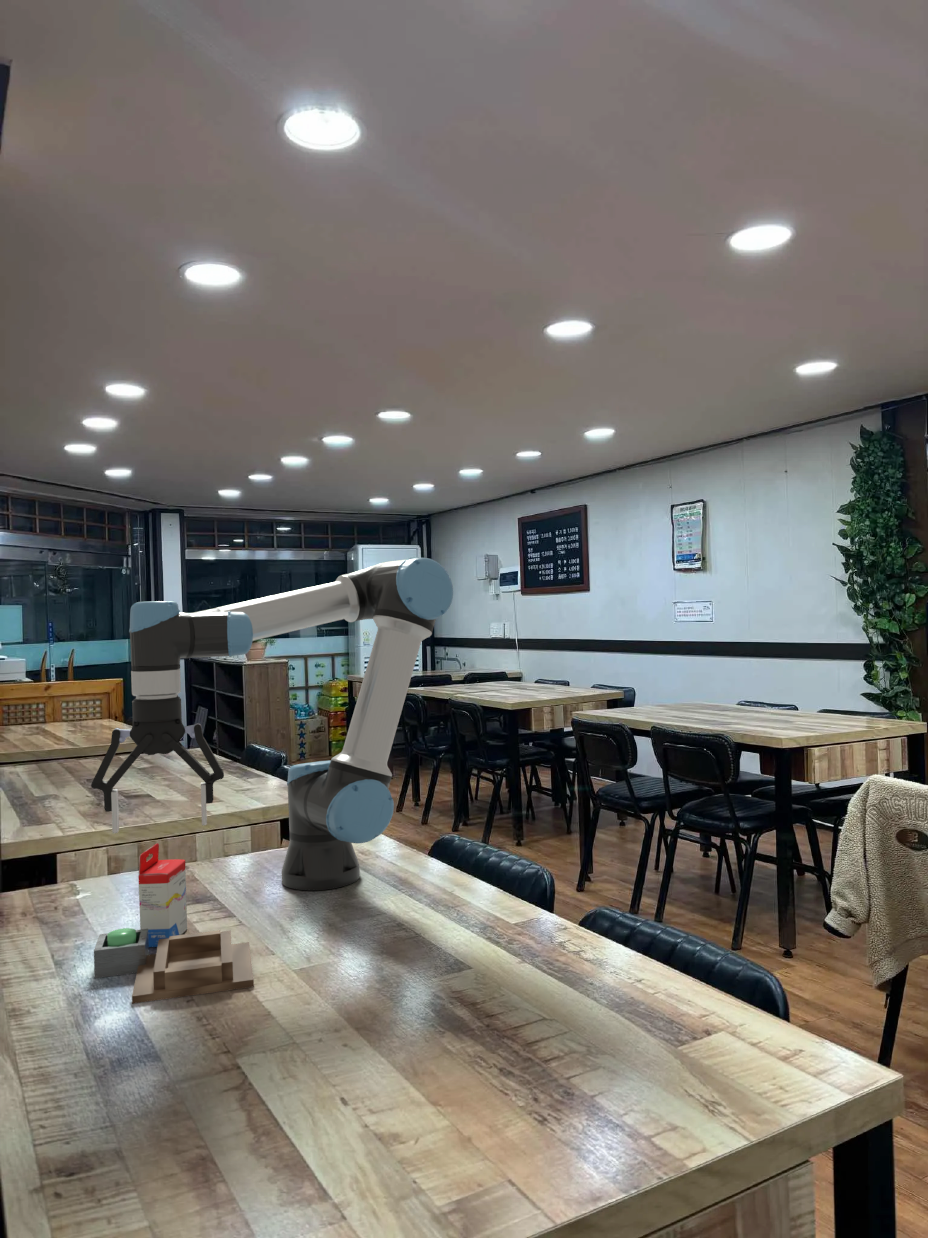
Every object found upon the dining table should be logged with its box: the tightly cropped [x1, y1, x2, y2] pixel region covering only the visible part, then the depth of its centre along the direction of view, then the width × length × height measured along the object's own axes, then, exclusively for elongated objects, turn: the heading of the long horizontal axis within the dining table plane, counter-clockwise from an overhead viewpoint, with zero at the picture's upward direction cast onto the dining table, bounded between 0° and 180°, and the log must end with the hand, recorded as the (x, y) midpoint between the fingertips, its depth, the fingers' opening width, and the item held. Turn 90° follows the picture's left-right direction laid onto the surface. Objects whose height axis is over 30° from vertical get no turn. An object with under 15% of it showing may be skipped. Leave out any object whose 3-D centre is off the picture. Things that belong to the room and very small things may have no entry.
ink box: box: [137, 842, 188, 948], centre depth 144 cm, size 8×5×15 cm, turn 179°
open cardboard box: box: [131, 929, 255, 1005], centre depth 129 cm, size 16×15×4 cm
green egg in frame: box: [93, 928, 150, 979], centre depth 133 cm, size 7×7×4 cm
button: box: [106, 927, 137, 947], centre depth 133 cm, size 4×4×3 cm
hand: (160, 827), depth 144 cm, fingers open, 13 cm apart
